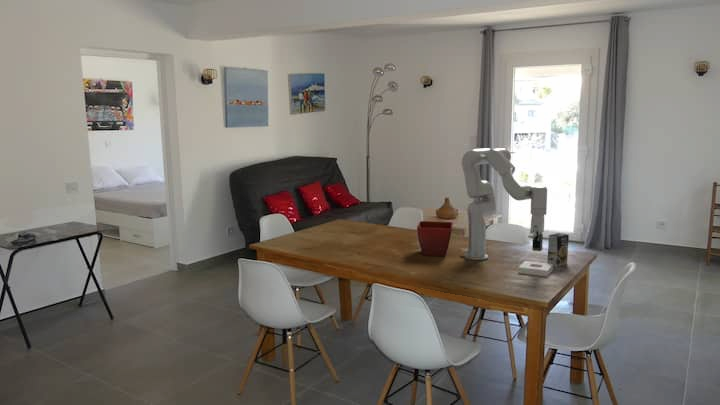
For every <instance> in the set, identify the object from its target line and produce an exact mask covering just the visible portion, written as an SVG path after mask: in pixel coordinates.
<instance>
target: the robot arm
mask: <svg viewBox="0 0 720 405" xmlns="http://www.w3.org/2000/svg"><path fill="white" fill-rule="evenodd" d="M511 158H512V155H511V152H510V151H509V150H508V149H506V148H474V149H473V148H472V149H470V150H468V151H466V152H465V153H464V154H463V155H462V158H461V166H462V167H461V168H462V172H463V176H464V181H465V182H464V183H465V187H466V188H465V189H466V194H467V196H468V198H470V199H472V200H475V199H479V200H476V201H472V202H470V203H469V204H468V206H467V210H466V214H467V220H468V231H467V232H468V235H467V236H468V237H467V240H468V241H467V248H460V252H461V253H465V255H464V257H465V258H466V259H469V260H474V261H485V260H488V258H489V255H488V254H486V248H487V247H486V246H487V245H486V244H487V223H486V220H485V218H488V217H489V218H490V217H492V216H493V215H494V214H495V212H496V211H497V210H496V209H497V207H496V206H497V205H496V197H495V193H494V188H493V185H492V184H491V182H489V181H487V180H482V178H481V172H480V170H479V169H478V167H477V166H478V165H490V166H491V167H492V168H493V169H494V171H495V172H497V174H498V175H499V177H500V178H501V182H502V185H503V189H504V190H505V191H506V193H507V194H508V195H510V197H511V198H512V199H514V200H515V201H526V200H530V215H531V219H530V229H529V230H530V231H529V233H530V235H532V245H533V248H540V240H539V237H540V234H543V233H544V231H545V216H546V215H547V210H548V209H547V205H548V204H547V203H548V188H547V187H546V186H544V185H534V184H529V183H528V184H519V183H518V182H517V181H516V180H515V178H514V176H513V174H514V173H515V171H516V167H515V165H514V164H513V163H512V162H511V160H512V159H511ZM533 234H534V235H533ZM537 235H538V236H537Z"/></svg>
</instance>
